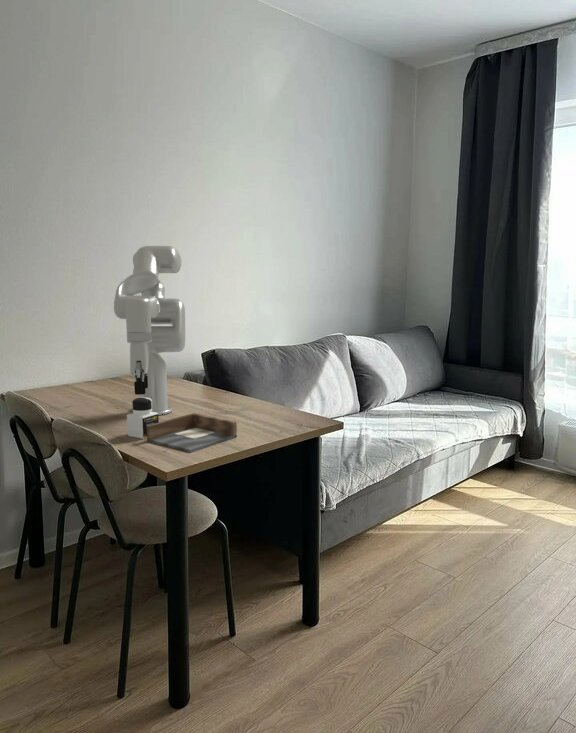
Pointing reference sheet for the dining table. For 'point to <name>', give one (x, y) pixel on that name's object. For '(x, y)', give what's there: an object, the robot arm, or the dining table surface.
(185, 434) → the tray
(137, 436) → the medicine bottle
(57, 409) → the dining table surface
